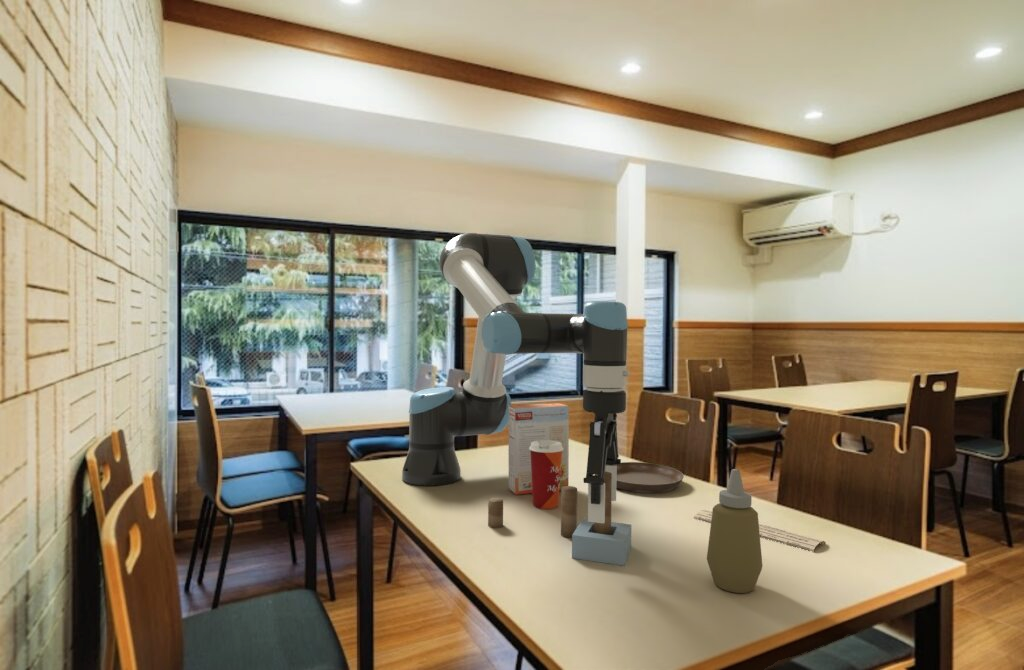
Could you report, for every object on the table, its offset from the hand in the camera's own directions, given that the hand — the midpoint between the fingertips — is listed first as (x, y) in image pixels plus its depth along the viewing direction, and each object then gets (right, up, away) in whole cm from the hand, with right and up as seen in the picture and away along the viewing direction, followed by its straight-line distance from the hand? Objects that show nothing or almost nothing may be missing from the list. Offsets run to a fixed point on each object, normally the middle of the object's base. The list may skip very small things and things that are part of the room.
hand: (602, 510), depth 100 cm
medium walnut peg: (-5, -7, +8) cm, 12 cm away
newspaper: (+33, -9, +12) cm, 36 cm away
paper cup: (-9, -7, +26) cm, 29 cm away
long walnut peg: (0, -7, 0) cm, 7 cm away
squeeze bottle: (+18, -8, -13) cm, 24 cm away
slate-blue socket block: (0, -7, 0) cm, 7 cm away
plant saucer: (+17, -8, +45) cm, 49 cm away
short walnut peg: (-19, -7, +13) cm, 24 cm away
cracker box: (-10, -7, +38) cm, 40 cm away
